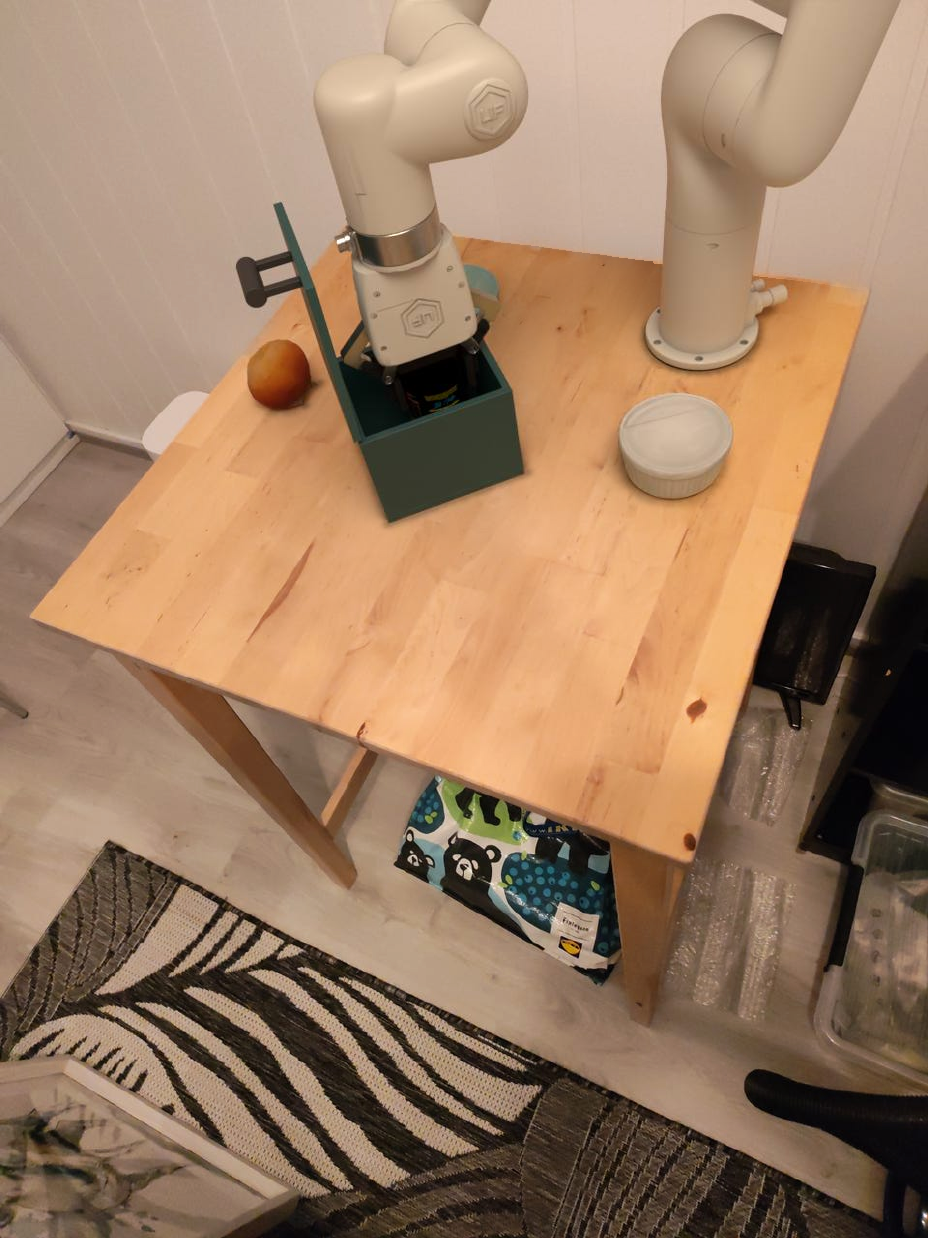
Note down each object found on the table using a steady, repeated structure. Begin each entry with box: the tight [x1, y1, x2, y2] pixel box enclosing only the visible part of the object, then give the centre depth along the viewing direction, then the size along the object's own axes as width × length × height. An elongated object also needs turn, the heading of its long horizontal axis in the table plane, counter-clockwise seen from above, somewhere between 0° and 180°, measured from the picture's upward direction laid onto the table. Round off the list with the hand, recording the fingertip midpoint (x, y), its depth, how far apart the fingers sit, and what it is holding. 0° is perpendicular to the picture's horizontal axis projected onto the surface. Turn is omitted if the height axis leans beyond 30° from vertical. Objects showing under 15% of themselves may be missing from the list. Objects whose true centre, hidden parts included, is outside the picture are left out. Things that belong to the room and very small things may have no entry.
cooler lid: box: [235, 201, 362, 444], centre depth 72 cm, size 16×14×6 cm
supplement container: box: [396, 344, 470, 421], centre depth 83 cm, size 7×7×10 cm
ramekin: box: [617, 392, 734, 500], centre depth 81 cm, size 11×11×5 cm
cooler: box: [336, 338, 525, 524], centre depth 85 cm, size 16×14×12 cm
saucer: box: [463, 263, 500, 314], centre depth 102 cm, size 12×12×2 cm
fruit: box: [246, 339, 317, 410], centre depth 97 cm, size 8×8×8 cm
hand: (435, 390), depth 82 cm, fingers closed on supplement container, 6 cm apart
